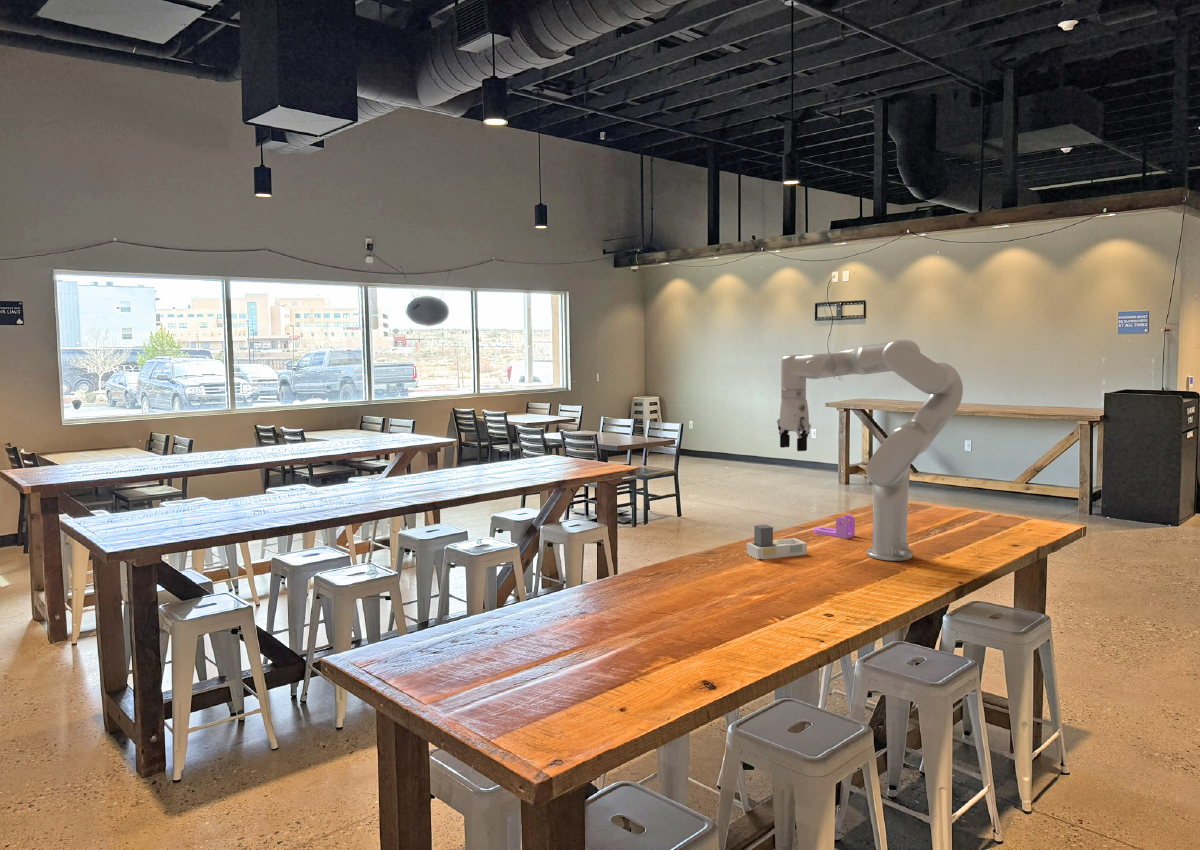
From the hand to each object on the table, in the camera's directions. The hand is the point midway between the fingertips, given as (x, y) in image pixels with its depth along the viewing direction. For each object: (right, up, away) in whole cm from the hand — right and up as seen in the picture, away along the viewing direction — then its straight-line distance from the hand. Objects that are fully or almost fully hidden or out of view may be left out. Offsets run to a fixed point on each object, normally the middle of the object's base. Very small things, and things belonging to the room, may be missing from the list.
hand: (793, 449), depth 255 cm
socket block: (-7, -32, -10) cm, 34 cm away
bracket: (+16, -29, +14) cm, 36 cm away
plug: (-12, -31, -12) cm, 35 cm away
